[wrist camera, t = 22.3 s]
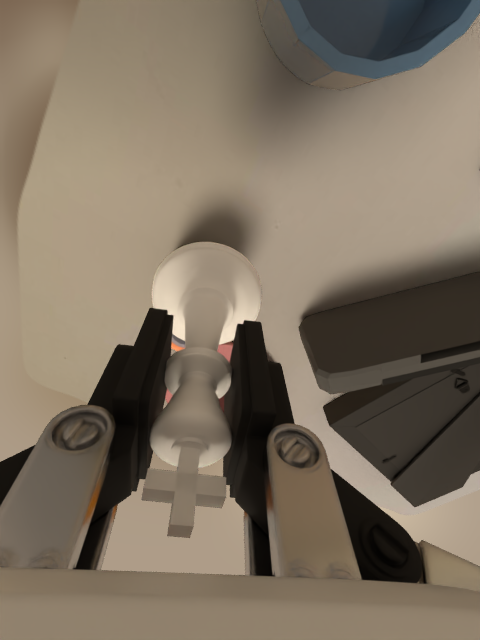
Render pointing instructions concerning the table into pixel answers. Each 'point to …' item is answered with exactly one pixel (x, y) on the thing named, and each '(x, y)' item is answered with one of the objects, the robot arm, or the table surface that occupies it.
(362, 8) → the bowl
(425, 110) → the table surface
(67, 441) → the robot arm
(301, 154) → the table surface
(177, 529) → the chess piece
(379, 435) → the picture frame
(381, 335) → the handheld gaming console
